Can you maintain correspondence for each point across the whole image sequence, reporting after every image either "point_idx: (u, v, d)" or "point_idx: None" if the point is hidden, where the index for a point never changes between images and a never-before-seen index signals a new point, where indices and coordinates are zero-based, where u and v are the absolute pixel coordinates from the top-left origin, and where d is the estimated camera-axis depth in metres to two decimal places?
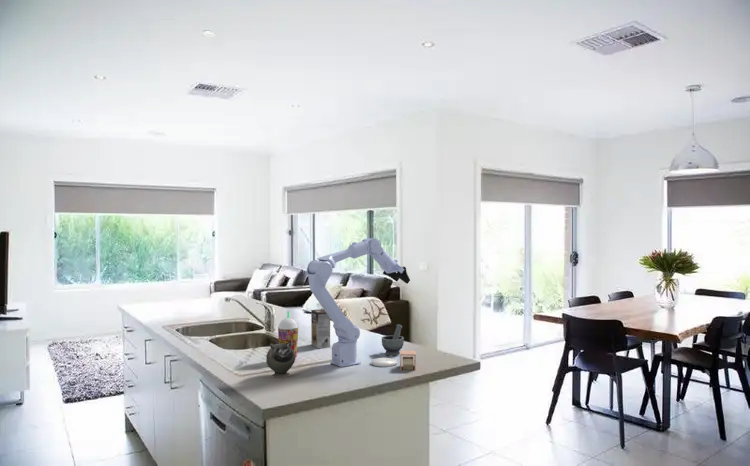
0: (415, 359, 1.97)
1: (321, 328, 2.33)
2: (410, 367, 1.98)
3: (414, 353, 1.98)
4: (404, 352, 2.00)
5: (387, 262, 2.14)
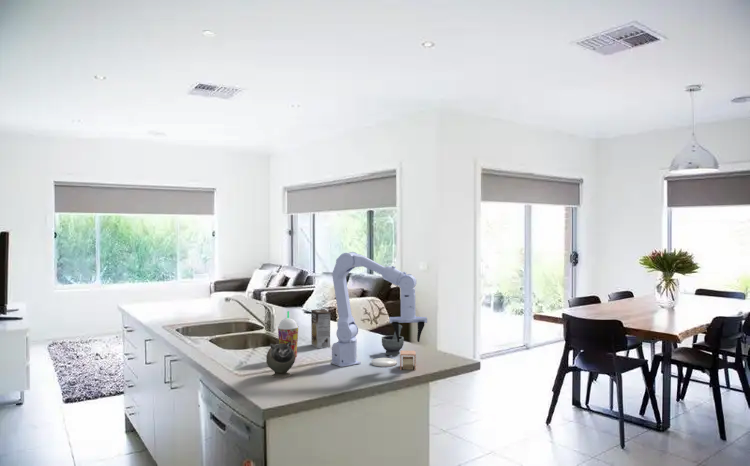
0: (415, 359, 1.97)
1: (321, 328, 2.33)
2: (410, 367, 1.98)
3: (414, 353, 1.98)
4: (404, 352, 2.00)
5: None
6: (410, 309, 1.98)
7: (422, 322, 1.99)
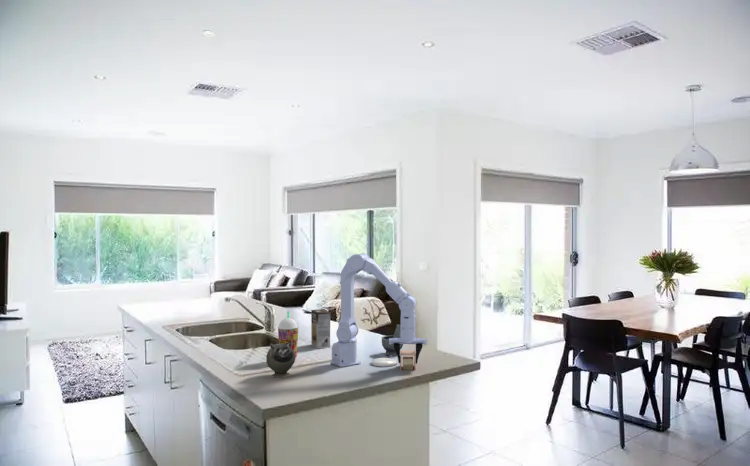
0: (415, 359, 1.97)
1: (321, 328, 2.33)
2: (410, 367, 1.98)
3: (414, 353, 1.98)
4: (404, 352, 2.00)
5: None
6: (410, 331, 1.97)
7: None
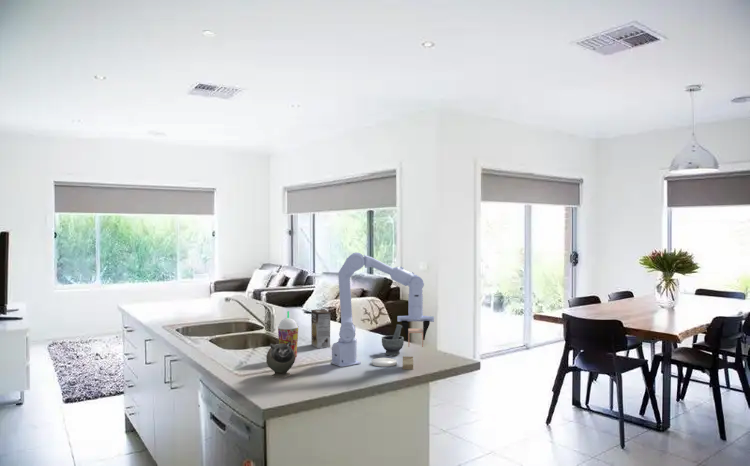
0: None
1: (321, 328, 2.33)
2: (410, 367, 1.98)
3: (422, 331, 2.06)
4: (412, 330, 2.07)
5: None
6: (417, 308, 2.05)
7: (429, 321, 2.07)
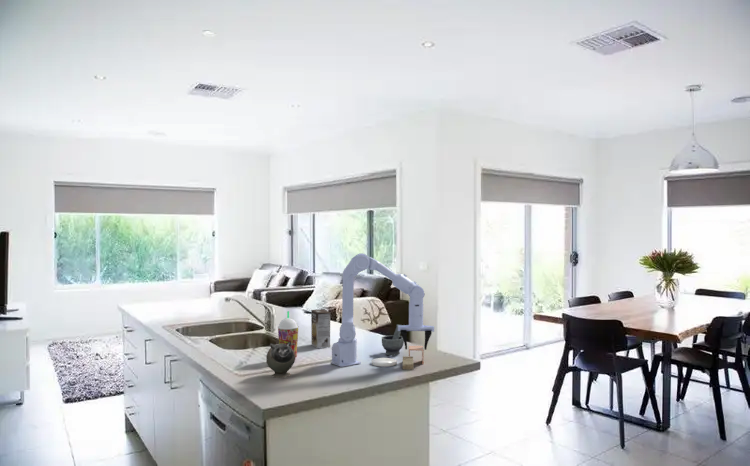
0: (423, 354, 2.05)
1: (321, 328, 2.33)
2: (410, 367, 1.98)
3: (422, 348, 2.07)
4: (412, 347, 2.08)
5: None
6: (418, 318, 2.06)
7: (429, 331, 2.07)
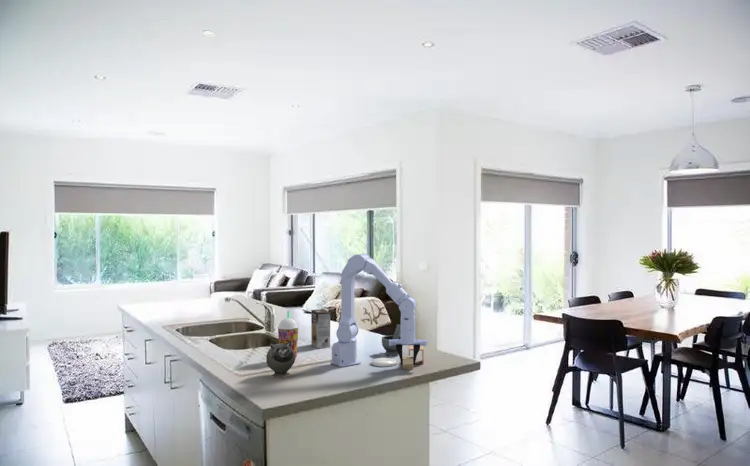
0: (423, 354, 2.05)
1: (321, 328, 2.33)
2: (410, 367, 1.98)
3: (422, 348, 2.07)
4: (412, 347, 2.08)
5: None
6: (410, 332, 1.97)
7: (422, 345, 1.99)
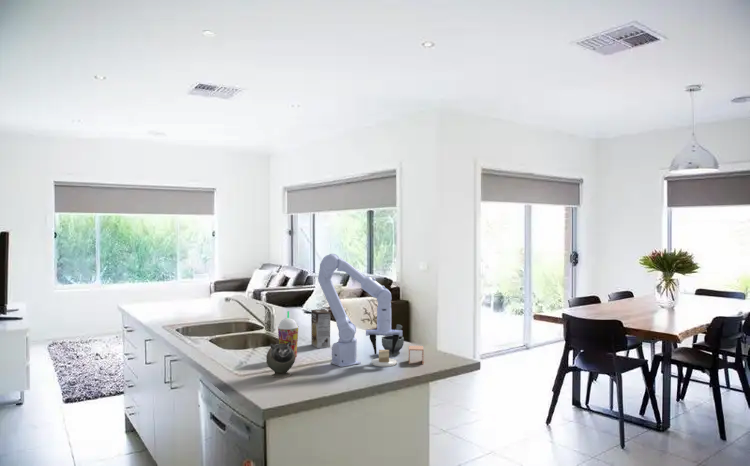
0: (423, 354, 2.05)
1: (321, 328, 2.33)
2: (386, 360, 2.04)
3: (422, 348, 2.07)
4: (412, 347, 2.08)
5: None
6: (386, 322, 2.04)
7: (397, 335, 2.05)
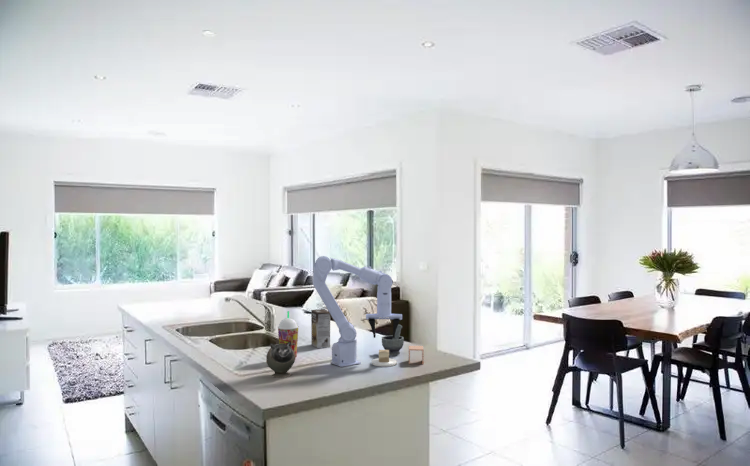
0: (423, 354, 2.05)
1: (321, 328, 2.33)
2: (386, 360, 2.04)
3: (422, 348, 2.07)
4: (412, 347, 2.08)
5: None
6: (386, 306, 2.06)
7: (397, 319, 2.08)
